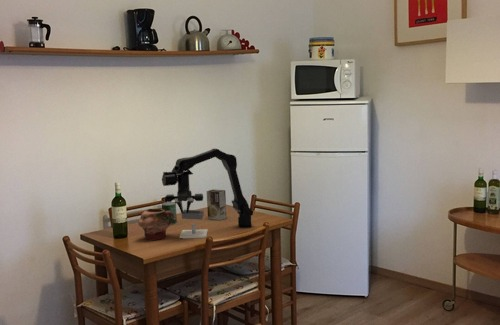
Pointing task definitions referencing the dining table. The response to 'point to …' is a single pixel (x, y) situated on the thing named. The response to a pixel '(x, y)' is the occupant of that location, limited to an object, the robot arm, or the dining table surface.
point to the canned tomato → (172, 208)
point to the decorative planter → (155, 223)
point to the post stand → (194, 233)
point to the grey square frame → (193, 214)
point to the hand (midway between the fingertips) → (184, 214)
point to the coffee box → (216, 204)
